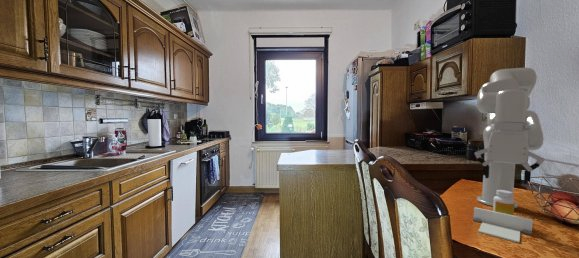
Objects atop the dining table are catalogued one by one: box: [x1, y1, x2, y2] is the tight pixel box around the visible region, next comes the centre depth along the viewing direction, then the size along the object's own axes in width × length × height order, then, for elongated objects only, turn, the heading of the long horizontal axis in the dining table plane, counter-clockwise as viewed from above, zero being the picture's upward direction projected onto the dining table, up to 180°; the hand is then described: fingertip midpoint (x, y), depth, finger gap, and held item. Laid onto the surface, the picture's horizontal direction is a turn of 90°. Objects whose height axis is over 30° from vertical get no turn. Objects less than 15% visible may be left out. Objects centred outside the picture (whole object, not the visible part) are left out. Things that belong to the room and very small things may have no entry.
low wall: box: [472, 207, 534, 235], centre depth 80 cm, size 3×14×4 cm, turn 47°
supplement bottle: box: [492, 190, 515, 216], centre depth 85 cm, size 5×5×10 cm
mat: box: [477, 222, 521, 244], centre depth 75 cm, size 9×9×1 cm
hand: (505, 180), depth 84 cm, fingers open, 9 cm apart
